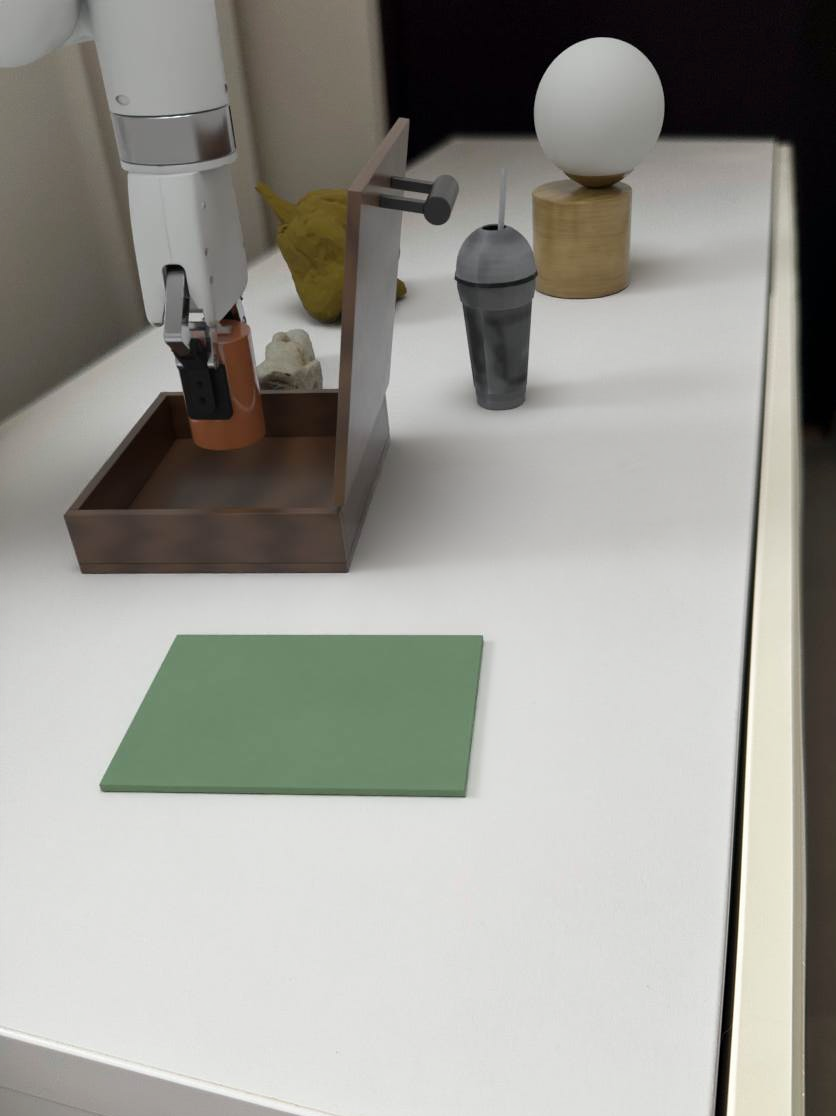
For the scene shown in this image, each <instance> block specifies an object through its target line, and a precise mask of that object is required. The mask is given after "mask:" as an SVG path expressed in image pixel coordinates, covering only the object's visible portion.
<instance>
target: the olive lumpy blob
mask: <svg viewBox="0 0 836 1116" xmlns="http://www.w3.org/2000/svg"><path fill="white" fill-rule="evenodd" d="M348 189H349V188H340V189H339V188H338V189H330V188H322V189H321V188H320V189H315V190H311V191H308V192H307V193H306V194H305V195H304V196H302V197H300V198H299V199H298V200H297V202H296V203H295V204H294V203H292V202H289V201H287V200H286V199H284V198H282V197H280V195H278V194H277V193H275V192H274V191H273V190H272V189H271V188H270V187H269V186H267V184H266V183H265V182H264V181H263V180H261V181H260V182H259V183H258V184H257V185H256V186H255V187H254V190H256V192H258V194H260V196H261V197H262V198H263V199H264V200H265V202H266V203H267V205H268V206H269V208H270V209H271V211H272V212H273V214H274V215H275V217H276V218H277V220H278V221H279V222H280V224H279V225H278V226H276V227H275V228H276V230H277V233H278V234H277V235H276V236H275V237H276V244H277V246H278V249H279V251H280V254H281V255H282V258H283V260H284V261H285V263H286V265H287V267H288V270H289V272H290V275H291V279H292V281H293V283H294V287H295V291H296V293H297V296H298V298H299V300H300V302H301V304H302V306H303V308H304V310H305V311H306V312H307V313H308V314H309V316H310V317H312V318H313V319H315V320H317V321H319V322H323V323H333V322H334V321H336V320H337V319H338V318H339V316H340V315H341V314H342V303H343V281H344V260H345V239H346V218H347V197H348ZM400 257H401V249H400V250H399V259H400ZM407 289H408V288H407V286H406V284H405V282H404V281H402V280H401V279H400V278H398V277H397V288H396V299H399V298H402V297H404V296H406V294H408V293H407Z"/></svg>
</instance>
